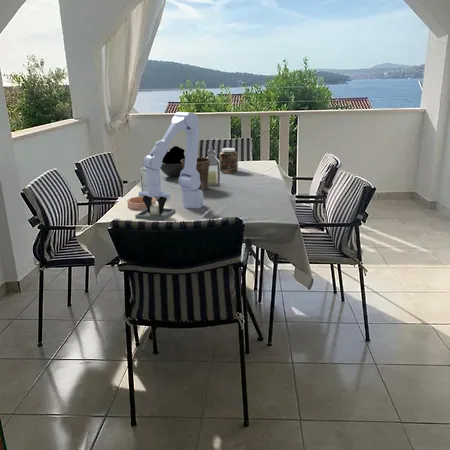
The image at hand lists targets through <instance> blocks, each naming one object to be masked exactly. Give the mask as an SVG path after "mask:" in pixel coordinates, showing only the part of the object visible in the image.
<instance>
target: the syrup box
mask: <svg viewBox="0 0 450 450" xmlns="http://www.w3.org/2000/svg"><path fill="white" fill-rule="evenodd" d="M140 186H141V191H142V192H145V191H148V189H147V176H146V169H145V167H144V166H143V167H140Z"/></svg>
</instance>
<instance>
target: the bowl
mask: <svg viewBox="0 0 450 450" xmlns="http://www.w3.org/2000/svg"><path fill="white" fill-rule="evenodd" d="M142 198H143V196H141V197H139V196H135V197H134V196H133V197H130V198H128V199H127V200H126V201H127V208H129V209H131V210H145V209H146V208H147V207H146V205H145V203H144V202H143V200H142ZM152 205H157V203H156V197H152Z"/></svg>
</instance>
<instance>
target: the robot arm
mask: <svg viewBox="0 0 450 450" xmlns="http://www.w3.org/2000/svg"><path fill="white" fill-rule="evenodd" d="M180 131H184V132H185V133H186V141H185V142H186V144H185V152H184V156H185V165H184V169H183V170H182V171H181V174H180V177H178V185H179V186H180V189H181V192H182V193H181V196H182V198H181V199H182V207H183V208H185V209H201V208H202V207H203V206H204V190H199V189H198V188H199V187H200V184H201V181H200V174H199V172H198V171H197V170H196V165H197V158H198V150H199V140H200V127H199V117H198V116H197V115H196V113H195V112H194V111H193V112H192V111H191V112H186V111H177V112H175V114H174V115H173V117H172V118H171V123H170V125H169V126H168V129H167V130H166V132H165V133H164V135H163V138H162V139H159V140H158V141H156V142H155V143H154V146H153V148H152V149H151V151H150V152H149V154H148V155H146V156H144V158H143V161H142V165H143V167H145V169H146V176H147V189H148V191H145V192H142V190H141V191H139V192H138V197H141V196H143V198H142V200H143V202H144V203H145V205H146V207H147V210H148V213H150V206H151V205H152V197H153V198H157V202H158V203H157V205H159V213H160V214H162V213H163V209H164V208H165V204H166V202H167V200H169V199H171V197H172V196H171V195H172V194H171V193H170V192H164V191H162V189H161V185H162V184H161V173H160V170H161V169H160V167H161V166H162V160H163V157H164V156H165V154H166V153H167V151H168V152H169V151H170V143H172V140H173V139H174V138H175V137H176V135H177V134H178V132H180Z"/></svg>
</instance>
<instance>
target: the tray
mask: <svg viewBox="0 0 450 450" xmlns="http://www.w3.org/2000/svg"><path fill="white" fill-rule="evenodd" d="M174 213H176V208H166V207H164V209H163V213H162V214H161V215H160V216H151V215H150V213H148V210H147V208H146V209H142V210H141V211H140V212H139V213H137V214H135V219H142V220H153V221H154V220H155V221H157V220H158V221H165V220H166V219H168V218H169V217H170V216H171V215H173V214H174Z"/></svg>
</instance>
